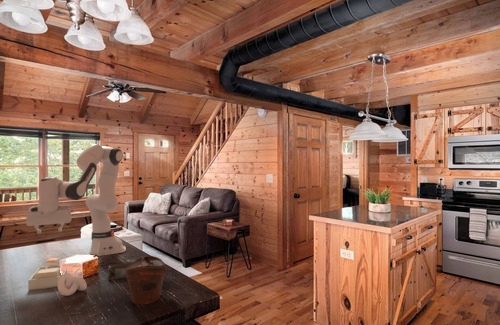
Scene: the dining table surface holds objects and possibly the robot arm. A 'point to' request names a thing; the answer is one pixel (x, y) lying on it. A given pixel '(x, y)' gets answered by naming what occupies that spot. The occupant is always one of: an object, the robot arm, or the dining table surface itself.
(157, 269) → the brown bucket
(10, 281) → the dining table surface
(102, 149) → the robot arm
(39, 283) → the tote
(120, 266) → the beverage carton
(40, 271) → the beige rectangular block
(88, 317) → the dining table surface
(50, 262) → the copper capped metal stub
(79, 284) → the pretzel
